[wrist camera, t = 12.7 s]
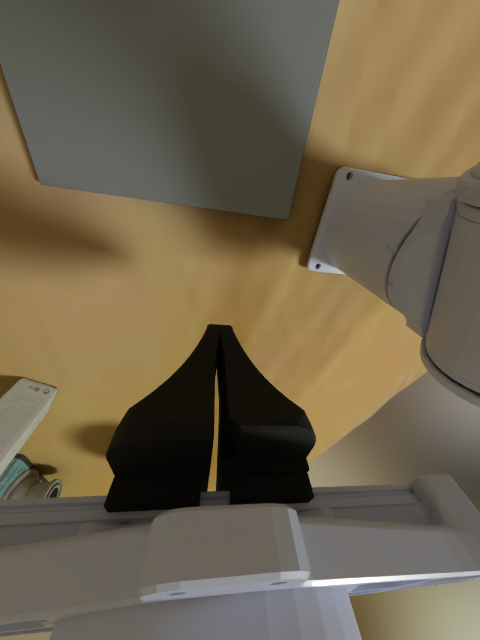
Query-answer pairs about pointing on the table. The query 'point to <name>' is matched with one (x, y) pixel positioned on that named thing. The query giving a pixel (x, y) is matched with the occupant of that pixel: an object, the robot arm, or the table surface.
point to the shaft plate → (168, 95)
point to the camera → (26, 481)
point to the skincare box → (21, 415)
